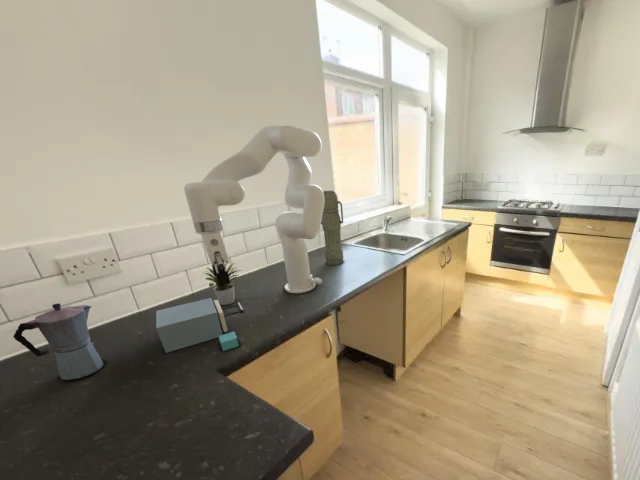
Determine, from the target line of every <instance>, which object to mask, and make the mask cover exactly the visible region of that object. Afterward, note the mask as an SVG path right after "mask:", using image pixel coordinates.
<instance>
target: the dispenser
mask: <svg viewBox="0 0 640 480" xmlns="http://www.w3.org/2000/svg"><path fill="white" fill-rule="evenodd" d="M155 324H156V325H155V329H156V331H157V334H158V336H159V339H160V342H161V344H162V347H163V350H164V353H165V354H167V353H170V352H174V351H177V350H180V349H184V348H187V347H190V346H194V345H197V344H200V343H205V342H207V341H211V340H214V339H217V338H218V339H219V336H220V335H224V334H223V329H222V326H221V323H220V321H219V318H218V314H217V311H216V307H215V303H214V300H213V298H212V297H209V298H204V299H199V300H196V301H192V302H187V303H183V304H179V305H174V306H171V307H166V308H162V309H158V310H156V312H155Z"/></svg>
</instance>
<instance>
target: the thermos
mask: <svg viewBox="0 0 640 480" xmlns="http://www.w3.org/2000/svg"><path fill="white" fill-rule="evenodd" d="M322 191H323V193H324V197H325V204H324V210H323V215H322V220H321V225H322V230H323V238H324V245H325V247H324V248H325V251H324V257H325V260H326V261H325V263H326V265H327V266H339V265H341V264H343V263H344V251H343V248H342V239H341V228H342V224H344V213H343V212H344V211H343V210H344V209H343V203H342V202H341V200H338V196H337V194H336V193H337V192H336V191H334V190H322ZM338 204H339V205H340V214H339V210H338V209H339V205H338Z"/></svg>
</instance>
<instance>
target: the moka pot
mask: <svg viewBox="0 0 640 480" xmlns="http://www.w3.org/2000/svg"><path fill="white" fill-rule="evenodd" d="M51 307H52V309H50V310H48V311H45V312H43V313H41V314H39V315H37V316H35V318H34V319H33V320H29V321H28V322H22V323H20V324H19V325H18V326H17V329H16V330H15V332H14V334H13V338H14V340H15V341H17V342H18V343H20V344H21V345H22V346H24V347H25V348H26V349H27V350H29V351H30V352H31V353H32V354H33V355H35V356H36V357H41V356H46V355H48V354H50V349H44V350H43V351H41V350H39V349H38V348H36V347H35V346H34V345H33V343H32V342H30V341H29V340H28V339H27V338H26V337H25V336H23V332H25V331H29V330H30V331H31V330H35V329H38V330H39V332H40V333H41V335H42V336H43V337H44V339H45V340H46V342H47V343H48V344H49V345H50V347H51V348H52V350H53V351H54V356H55V360H56V364H57V368H58V373H59V376H60V379H61V380H62V381H63V380H64V381H71V380H78V379H82V378H85V377H87V376H90V375H92V374H94V373H96V372H98V371H99V370H101V369H102V368H103V366H104V362H103V359H102V358H101V357H100V355H99V353H98V351H97V350H96V347H94V346H95V343H94V342H93V341H92V342H91V338H90V332H89V328H88V318H89V313H90V309H91V308H92V305H88V304H80V305H68V306H63V307H62V305H61V303H58V302H57V303H54V304H52V305H51Z"/></svg>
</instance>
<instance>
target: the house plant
mask: <svg viewBox="0 0 640 480" xmlns="http://www.w3.org/2000/svg"><path fill="white" fill-rule="evenodd" d="M234 264H235V262H233V263H231V264H229V266H228V267H227V265H228V263H225V266H226V267H227V268H226V270H227V271H228V275H229V279H230V284H226V285H222V286H219V284H218V280H217V276H215V275H214V272H213V268H212V269H211V268H209V267H206V270H205V272H202V273H201V274H203V275H204V274H205V275H207V276H208V277H205V280H208V281H211V282H209V283H208V287H209V288H212V287H214V288H213V292H214V293H215V296H216V298H217V300H218V302H219V304H220V306H229V305H232V304H233V303H234V302H235V301H236V300H235V299H236V298H235V285H234V284H233V282H232V281H233V280H237V279H239V277H240V274H234V273H238V272H240V271H242V269H237V268H238V266H235V267H233V268H232V266H233V265H234ZM207 270H208V271H207ZM233 274H234V275H233Z"/></svg>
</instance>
